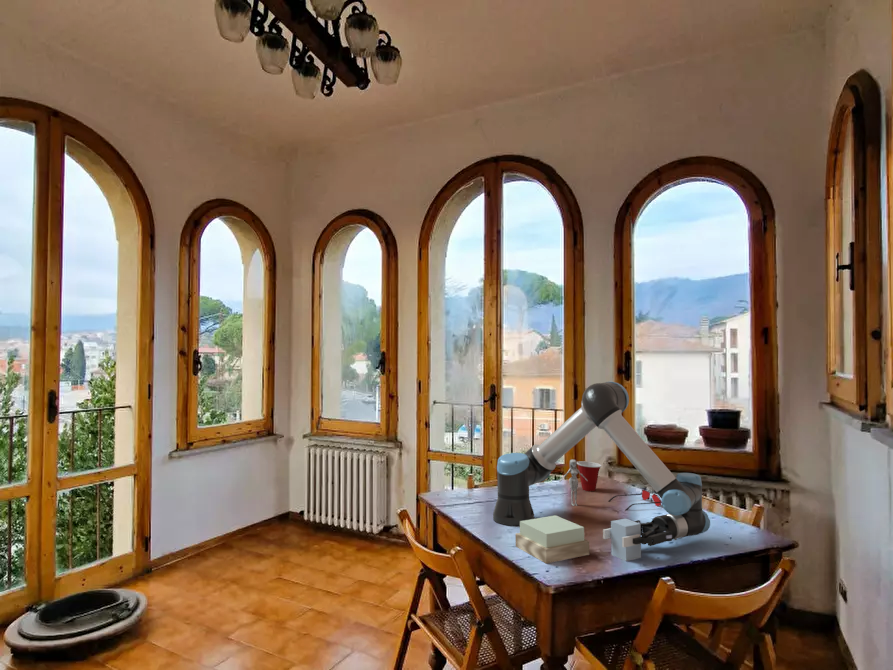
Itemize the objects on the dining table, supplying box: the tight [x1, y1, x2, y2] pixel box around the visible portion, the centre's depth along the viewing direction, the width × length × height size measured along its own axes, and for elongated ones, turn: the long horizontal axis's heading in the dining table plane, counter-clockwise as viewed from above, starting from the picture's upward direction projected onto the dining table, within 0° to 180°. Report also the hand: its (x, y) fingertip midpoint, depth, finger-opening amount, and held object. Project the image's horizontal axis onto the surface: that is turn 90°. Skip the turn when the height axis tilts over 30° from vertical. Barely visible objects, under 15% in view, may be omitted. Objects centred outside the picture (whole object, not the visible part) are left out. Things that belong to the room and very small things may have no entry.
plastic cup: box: [576, 460, 602, 492], centre depth 243 cm, size 11×11×12 cm
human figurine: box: [559, 459, 588, 507], centre depth 220 cm, size 12×4×18 cm, turn 97°
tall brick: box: [610, 518, 642, 562], centre depth 163 cm, size 6×6×10 cm
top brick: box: [519, 515, 585, 548], centre depth 168 cm, size 14×14×4 cm
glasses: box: [607, 489, 662, 511], centre depth 219 cm, size 14×16×5 cm
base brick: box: [515, 532, 590, 564], centre depth 168 cm, size 16×16×4 cm
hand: (613, 538), depth 160 cm, fingers open, 7 cm apart
